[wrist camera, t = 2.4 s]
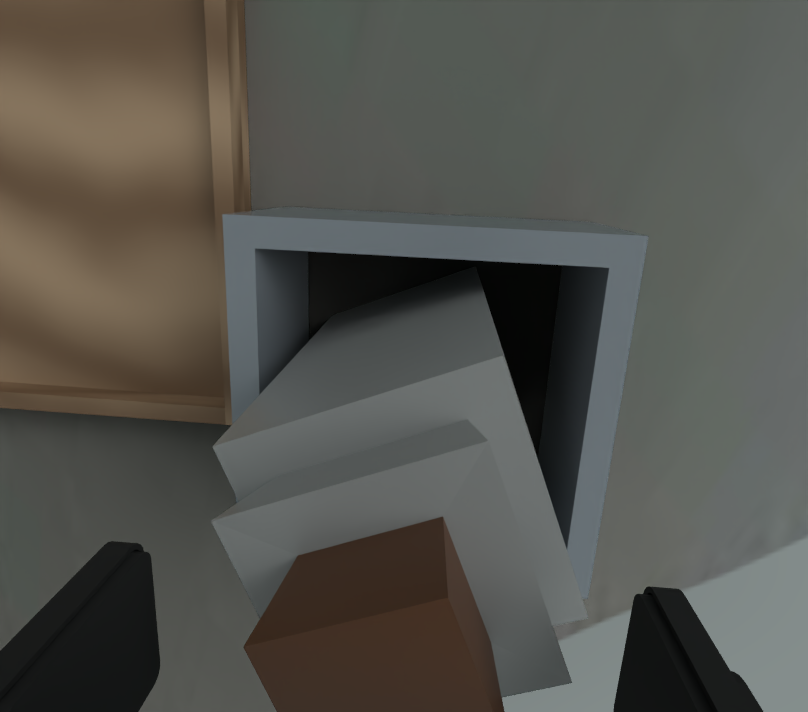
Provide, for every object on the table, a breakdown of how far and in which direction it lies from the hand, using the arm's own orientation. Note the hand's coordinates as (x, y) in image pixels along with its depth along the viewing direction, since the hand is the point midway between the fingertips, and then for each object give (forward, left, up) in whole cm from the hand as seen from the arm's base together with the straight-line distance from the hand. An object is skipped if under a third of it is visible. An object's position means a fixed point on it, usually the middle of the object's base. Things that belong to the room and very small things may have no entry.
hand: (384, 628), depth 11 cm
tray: (-7, -16, -16) cm, 24 cm away
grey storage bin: (0, 0, -16) cm, 16 cm away
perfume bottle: (0, 0, -16) cm, 16 cm away
